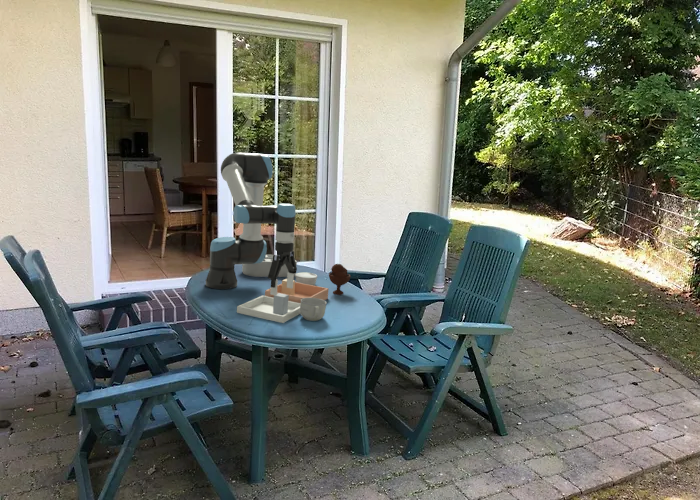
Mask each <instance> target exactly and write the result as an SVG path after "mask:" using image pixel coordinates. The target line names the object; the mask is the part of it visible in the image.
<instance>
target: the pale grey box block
mask: <svg viewBox="0 0 700 500" xmlns="http://www.w3.org/2000/svg"><path fill="white" fill-rule="evenodd" d="M288 299H289V295H286V294H281V293H278V294H277V295H274V304H273V313H274V314H278V315H284V314H286V313H288Z"/></svg>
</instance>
